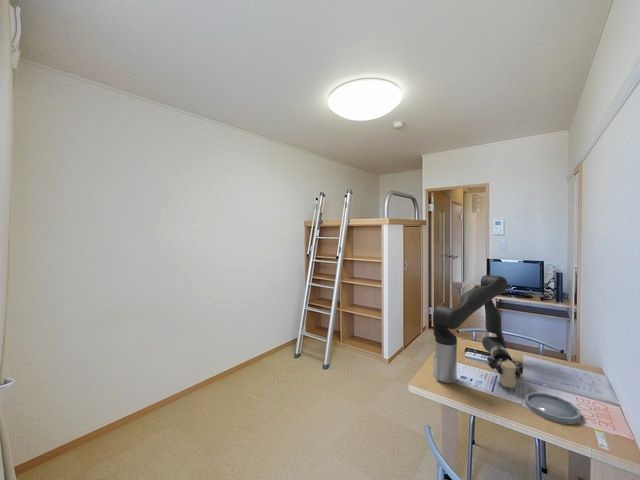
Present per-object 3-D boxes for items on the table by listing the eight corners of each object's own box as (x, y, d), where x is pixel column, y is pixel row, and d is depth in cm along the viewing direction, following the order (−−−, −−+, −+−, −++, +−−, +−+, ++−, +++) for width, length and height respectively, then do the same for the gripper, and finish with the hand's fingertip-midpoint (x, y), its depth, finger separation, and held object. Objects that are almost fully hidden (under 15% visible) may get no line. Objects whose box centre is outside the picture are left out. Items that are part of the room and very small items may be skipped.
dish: (542, 422, 101) (542, 416, 101) (517, 395, 117) (517, 391, 117) (592, 425, 99) (592, 420, 99) (560, 398, 115) (560, 393, 115)
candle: (515, 389, 118) (516, 365, 118) (500, 385, 121) (500, 362, 121) (515, 383, 123) (515, 360, 122) (500, 379, 126) (500, 357, 125)
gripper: (483, 346, 138) (490, 361, 122) (518, 351, 132) (530, 367, 117) (483, 361, 138) (489, 378, 122) (518, 367, 133) (530, 385, 117)
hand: (509, 373), depth 119 cm, fingers closed on candle, 5 cm apart
